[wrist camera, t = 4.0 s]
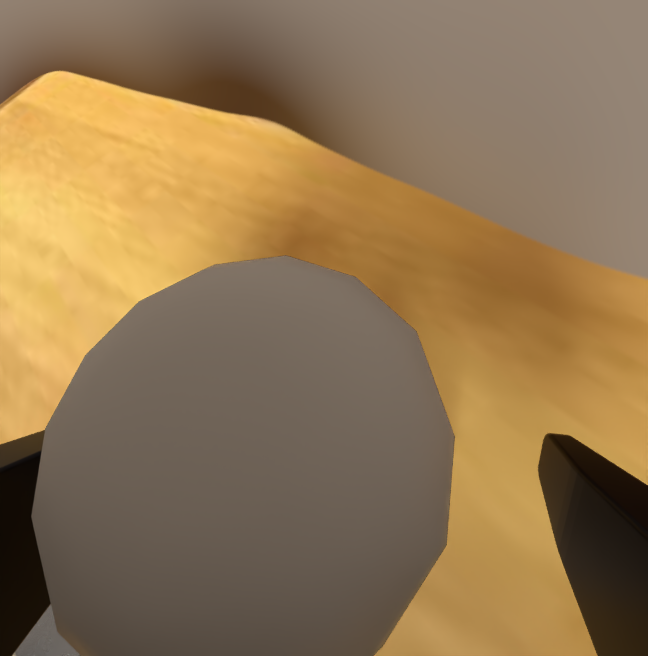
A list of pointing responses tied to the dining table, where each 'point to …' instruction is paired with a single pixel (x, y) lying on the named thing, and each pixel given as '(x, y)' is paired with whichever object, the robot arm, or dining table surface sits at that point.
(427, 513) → the salt shaker
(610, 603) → the robot arm
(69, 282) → the dining table surface
